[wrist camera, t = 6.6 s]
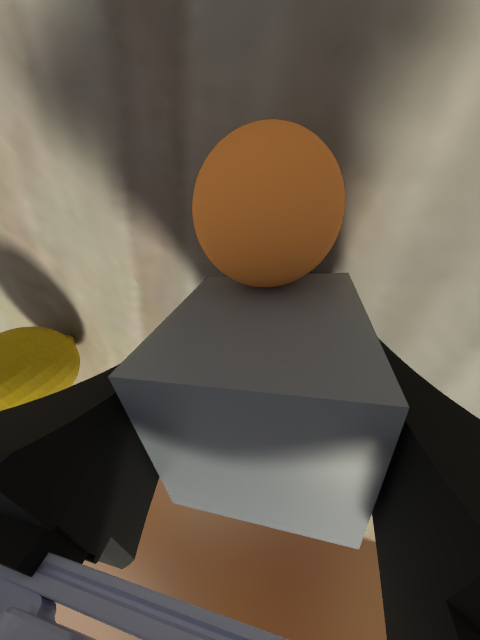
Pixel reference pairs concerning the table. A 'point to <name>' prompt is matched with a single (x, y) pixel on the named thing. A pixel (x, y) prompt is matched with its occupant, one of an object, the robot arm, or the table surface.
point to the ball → (268, 203)
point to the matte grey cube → (268, 405)
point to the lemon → (35, 364)
